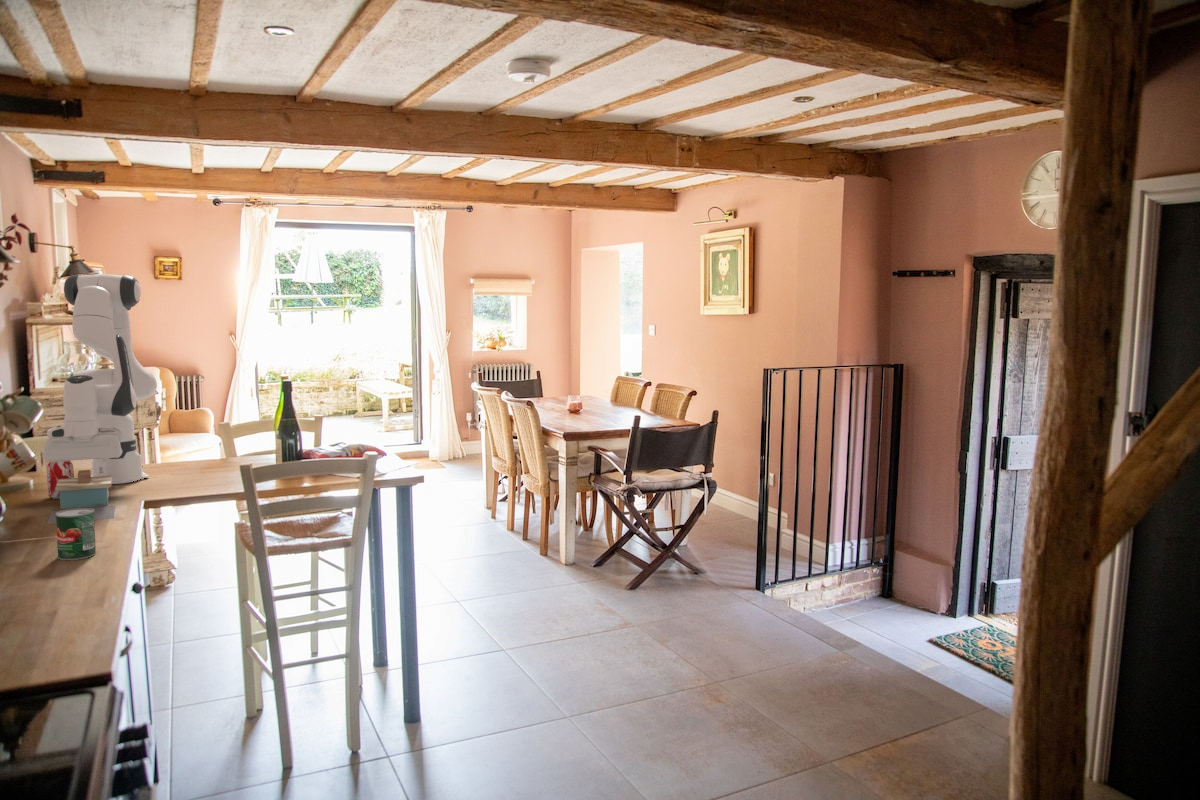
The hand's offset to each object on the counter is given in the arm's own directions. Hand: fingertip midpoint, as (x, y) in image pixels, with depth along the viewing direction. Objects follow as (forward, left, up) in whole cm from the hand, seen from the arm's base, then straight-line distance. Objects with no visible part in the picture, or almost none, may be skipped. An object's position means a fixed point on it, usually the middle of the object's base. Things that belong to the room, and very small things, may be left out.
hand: (84, 473), depth 247 cm
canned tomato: (+59, +1, -10) cm, 60 cm away
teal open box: (0, 0, -9) cm, 9 cm away
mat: (+16, 0, -9) cm, 19 cm away
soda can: (-13, -7, -10) cm, 18 cm away
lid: (0, 0, -3) cm, 3 cm away
